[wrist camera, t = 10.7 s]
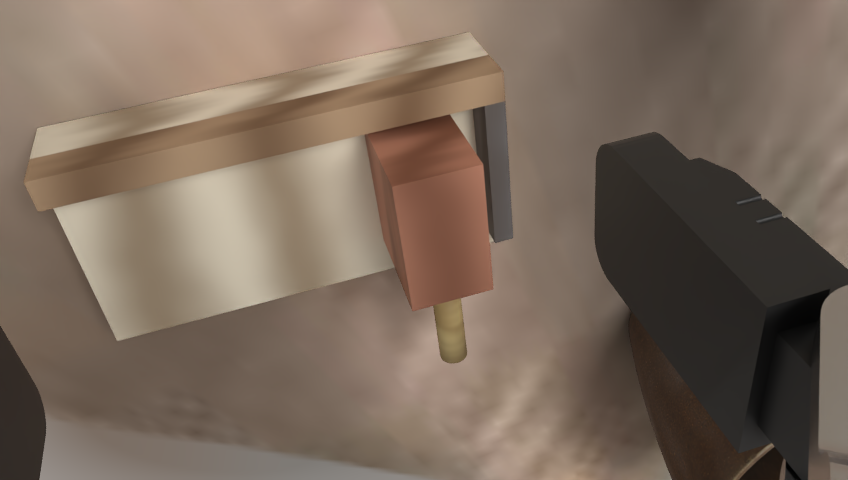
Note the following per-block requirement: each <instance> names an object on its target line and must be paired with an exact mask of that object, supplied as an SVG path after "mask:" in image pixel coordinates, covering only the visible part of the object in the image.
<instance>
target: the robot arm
mask: <svg viewBox="0 0 848 480" xmlns="http://www.w3.org/2000/svg"><path fill="white" fill-rule="evenodd" d="M595 245H596V251H597V255H598V258H599V262H600V264H601V267H602V269H603V271H604V273H605V275H606V277H607V279H608V280H609V281H610V283H611V284H612V285H613V287H614V288H615V289H616V291H617V292H618V293H619V295H620V296H621V297H622V299H623V300H624V302H625V303H626V304H627V306H628V307H629V308H630V310H631V311H632V312H633V314H634V315H635V316H636V318H637V319H638V320H639V322H640V323H641V324H642V326H643V327H644V328H645V330H646V331H647V332H648V334H649V335H650V336H651V338H652V339H653V340H654V342H655V343H656V344H657V346H658V347H659V348H660V350H661V351H662V352H663V354H664V355H665V356H666V358H667V359H668V360H669V362H670V363H671V364H672V366H673V367H674V368H675V370H676V371H677V372H678V374H679V375H680V376H681V378H682V379H683V380H684V382H685V383H686V384H687V386H688V387H689V388H690V390H691V391H692V392H693V394H694V395H695V396H696V398H697V399H698V400H699V402H700V403H701V404H702V406H703V407H704V408H705V410H706V411H707V412H708V414H709V415H710V416H711V418H712V419H713V420H714V422H715V423H716V424H717V426H718V427H719V428H720V430H721V431H722V432H723V434H724V435H725V436H726V438H727V439H728V440H729V442H730V443H731V444H732V446H733V447H734V448H735V450H736V451H737V452H738V453H742V452H745V451H748V450H751V449H754V448H757V447H760V446H763V445H766V444H770V443H772V444H773V445H774V446H775V448H776V449H777V450H778V451H779V453H780V454H781V455H782V456H783V458H784V459H783V463H782V467H781V472H780V480H848V269H847V268H846V267H844V266H843V265H842V264H841V263H840V262H839V261H837V260H836V259H835V258H834V257H833V256H832V255H830V254H829V253H828V252H827V251H826V250H825V249H823V248H822V247H821V246H820V245H819V244H818V243H816V242H815V241H814V240H813V239H812V238H811V237H809V236H808V235H807V234H806V233H805V232H804V231H803V230H801V229H800V228H799V227H798V226H797V225H796V224H794V223H793V222H792V221H791V220H790V219H789V218H787V217H786V218H783V217H782V212H780V211H779V210H778V209H777V208H776V207H775V206H773V205H772V204H771V203H770V202H769V201H768V200H766V199H764V200H762V199H761V194H759V193H758V192H757V191H756V190H755V189H754V188H752V187H751V186H750V185H749V184H748V183H747V182H745V181H744V180H743V179H742V178H741V177H740V176H738V175H737V174H736V173H734V172H732V171H730V170H727V169H725V168H723V167H720V166H718V165H716V164H713V163H711V162H709V161H706V160H704V159H702V158H697V159H693V160H688V159H687V158H686V157H685V156H684V155H683V154H682V153H681V152H680V151H678V150H677V149H676V148H675V147H674V146H673V145H672V144H671V143H670V142H669V141H667V140H666V139H665V138H664V137H663V136H662V135H660V134H659V133H656V132H652V133H648V134H644V135H640V136H636V137H632V138H628V139H624V140H620V141H616V142H612V143H608V144H604V145H602V146H601V147H600V148H599V150H598V152H597V157H596V186H595ZM45 436H46V419H45V412H44V407H43V403H42V400H41V397H40V394H39V391H38V389H37V387H36V385H35V383H34V382H33V380H32V378H31V377H30V375H29V373H28V371H27V370H26V368H25V366H24V365H23V363H22V361H21V360H20V358H19V356H18V355H17V353H16V351H15V350H14V348H13V346H12V345H11V343H10V341H9V340H8V338H7V336H6V335H5V333H4V331H3V330H2V328H1V326H0V480H39V478H40V471H41V464H42V457H43V450H44V443H45Z"/></svg>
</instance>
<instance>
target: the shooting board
mask: <svg viewBox="0 0 848 480" xmlns="http://www.w3.org/2000/svg"><path fill="white" fill-rule="evenodd" d="M449 114H450V115H451V117H452V118H453V120H454V121H455V123H456V124H457V126H458V127H459V129H460V130H461V132H462V133H463V135H464V136H465V138H466V139H467V141H468V142H469V144H470V145H471V147H472V148H473V150H474V151H475V153H476V154H477V156H478V157H479V159H480V160H481V162H482V163H483V168H484V180H485V192H486V204H487V217H488V229H489V241H490V242H495V243H497V242H501V241H504V240H508V239H512V238H513V228H512V211H511V194H510V176H509V159H508V142H507V125H506V108H505V91H504V74H503V70H502V69H501V68H500V67H499V66H498V65H497V64H496V62H495V61H494V60H493V59H492V58H491V57H490V56H489V54H488V53H487V52H486V51H485V50H484V49H483V48H482V47H481V45H480V44H479V43H478V42H477V41H476V40H475V39H474V37H473V36H472V35H471V34H470V33H469V32H468V33H463V34H459V35H454V36H450V37H445V38H441V39H436V40H432V41H427V42H423V43H418V44H414V45H409V46H405V47H400V48H396V49H391V50H387V51H382V52H378V53H373V54H369V55H364V56H360V57H355V58H351V59H346V60H342V61H337V62H333V63H328V64H324V65H319V66H315V67H310V68H306V69H301V70H297V71H292V72H288V73H283V74H279V75H274V76H270V77H265V78H261V79H256V80H252V81H247V82H243V83H238V84H234V85H229V86H225V87H220V88H216V89H211V90H207V91H202V92H198V93H193V94H189V95H184V96H180V97H175V98H171V99H166V100H162V101H157V102H153V103H148V104H144V105H139V106H135V107H130V108H126V109H121V110H117V111H112V112H108V113H103V114H99V115H94V116H90V117H85V118H81V119H76V120H72V121H67V122H63V123H58V124H54V125H49V126H45V127H40V128H37V132H36V136H35V140H34V144H33V148H32V151H31V155H30V159H29V163H28V167H27V171H26V175H25V179H24V184H25V186H26V188H27V190H28V192H29V194H30V196H31V198H32V200H33V202H34V204H35V206H36V208H37V210H38V212H41V211H45V210H49V209H54V211H55V213H56V215H57V217H58V219H59V221H60V223H61V225H62V228H63V230H64V232H65V234H66V236H67V238H68V240H69V242H70V244H71V246H72V248H73V250H74V252H75V254H76V257H77V259H78V261H79V263H80V265H81V267H82V269H83V271H84V273H85V275H86V277H87V279H88V281H89V283H90V286H91V288H92V290H93V292H94V294H95V296H96V298H97V300H98V302H99V304H100V306H101V308H102V310H103V312H104V314H105V317H106V319H107V321H108V323H109V325H110V327H111V329H112V331H113V333H114V335H115V337H116V339H117V341H120V340H123V339H127V338H131V337H135V336H139V335H142V334H146V333H150V332H154V331H157V330H161V329H165V328H169V327H173V326H176V325H180V324H184V323H188V322H191V321H195V320H199V319H203V318H207V317H210V316H214V315H218V314H222V313H226V312H229V311H233V310H237V309H241V308H244V307H248V306H252V305H256V304H260V303H263V302H267V301H271V300H275V299H278V298H282V297H286V296H290V295H294V294H297V293H301V292H305V291H309V290H313V289H316V288H320V287H324V286H328V285H331V284H335V283H339V282H343V281H347V280H350V279H354V278H358V277H362V276H365V275H369V274H373V273H377V272H381V271H384V270H388V269H392V268H395V267H394V264H393V262H392V259H391V257H390V254H389V252H388V249H387V247H386V244H385V242H384V239H383V234H382V228H381V223H380V217H379V212H378V206H377V201H376V195H375V190H374V184H373V179H372V173H371V168H370V162H369V157H368V152H367V146H366V141H365V134H369V133H373V132H377V131H382V130H386V129H390V128H394V127H398V126H403V125H407V124H411V123H415V122H420V121H424V120H428V119H432V118H436V117H441V116H445V115H449Z"/></svg>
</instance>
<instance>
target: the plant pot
mask: <svg viewBox="0 0 848 480" xmlns="http://www.w3.org/2000/svg"><path fill="white" fill-rule="evenodd" d="M629 334H630V341H631V346H632V352H633V357H634V362H635V366H636V371H637V375H638V379H639V382H640V386H641V390H642V394H643V397H644V401H645V404H646V408H647V411H648V414H649V417H650V421H651V424H652V427H653V430H654V433H655V435H656V438H657V441H658V444H659V447H660V449H661V452H662V455H663V457H664V460H665V463H666V465H667V468H668V470H669V473H670V475H671V478H672V480H780V472H781V467H782V463H783V459H784V458H783V456H782V455H781V454H780V453H779V451H778V450H777V449H776V448H775V446H774V445H773V444H772V443H770V444H766V445H763V446H760V447H757V448H754V449H751V450H748V451H745V452H742V453H738V452H737V451H736V450H735V448H734V447H733V446H732V444H731V443H730V442H729V440H728V439H727V438H726V436H725V435H724V434H723V432H722V431H721V430H720V428H719V427H718V426H717V424H716V423H715V422H714V420H713V419H712V418H711V416H710V415H709V414H708V412H707V411H706V410H705V408H704V407H703V406H702V404H701V403H700V402H699V400H698V399H697V398H696V396H695V395H694V394H693V392H692V391H691V390H690V388H689V387H688V386H687V384H686V383H685V382H684V380H683V379H682V378H681V376H680V375H679V374H678V372H677V371H676V370H675V368H674V367H673V366H672V364H671V363H670V362H669V360H668V359H667V358H666V356H665V355H664V354H663V352H662V351H661V350H660V348H659V347H658V346H657V344H656V343H655V342H654V340H653V339H652V338H651V336H650V335H649V334H648V332H647V331H646V330H645V328H644V327H643V326H642V324H641V323H640V322H639V320H638V319H637V318H636V316H635V315H634V314H633V312H632V314H631V317H630V320H629Z"/></svg>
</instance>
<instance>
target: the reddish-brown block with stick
mask: <svg viewBox="0 0 848 480" xmlns="http://www.w3.org/2000/svg"><path fill="white" fill-rule="evenodd" d="M365 141H366V146H367V152H368V157H369V162H370V168H371V173H372V179H373V184H374V190H375V195H376V201H377V206H378V212H379V217H380V223H381V228H382V234H383V239H384V242H385V244H386V247H387V249H388V252H389V254H390V257H391V259H392V262H393V264H394V267H395V269H396V271H397V274H398V276H399V279H400V281H401V284H402V286H403V289H404V291H405V294H406V296H407V299H408V301H409V304H410V306H411V308H412V311H416V310H419V309H423V308H427V307H430V306H433V307H434V314H435V321H436V328H437V335H438V342H439V349H440V356H441V358H442V360H443V361H445V362H447V363H458V362H461V361H462V360H464V359H465V357H466V355H467V348H466V340H465V331H464V322H463V314H462V305H461V298H463V297H467V296H470V295H474V294H478V293H481V292H485V291H489V290H492V289H493V278H492V266H491V253H490V241H489V229H488V217H487V204H486V192H485V180H484V168H483V163H482V162H481V160H480V159H479V157H478V156H477V154H476V153H475V151H474V150H473V148H472V147H471V145H470V144H469V142H468V141H467V139H466V138H465V136H464V135H463V133H462V132H461V130H460V129H459V127H458V126H457V124H456V123H455V121H454V120H453V118H452V117H451V115H450V114H449V115H445V116H441V117H436V118H432V119H428V120H424V121H420V122H415V123H411V124H407V125H403V126H398V127H394V128H390V129H386V130H382V131H377V132H373V133H369V134H365Z"/></svg>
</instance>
